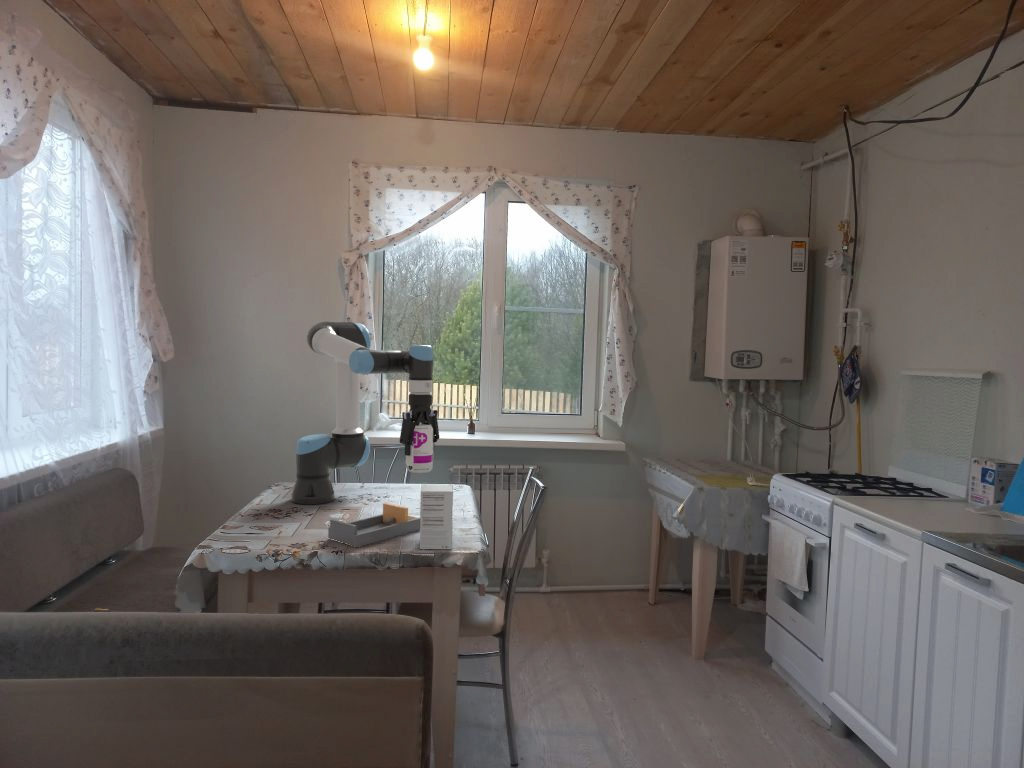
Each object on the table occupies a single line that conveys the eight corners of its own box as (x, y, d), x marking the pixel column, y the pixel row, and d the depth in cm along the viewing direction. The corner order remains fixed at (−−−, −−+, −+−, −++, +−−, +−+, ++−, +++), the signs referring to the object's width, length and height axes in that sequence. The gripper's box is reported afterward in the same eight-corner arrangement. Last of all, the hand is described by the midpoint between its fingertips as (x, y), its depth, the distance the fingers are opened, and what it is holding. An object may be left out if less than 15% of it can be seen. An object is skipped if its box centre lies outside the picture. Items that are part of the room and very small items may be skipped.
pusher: (375, 524, 212) (375, 505, 212) (385, 521, 215) (385, 502, 215) (397, 530, 206) (398, 510, 206) (407, 527, 209) (408, 508, 209)
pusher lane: (328, 539, 199) (328, 519, 199) (394, 521, 220) (394, 503, 220) (356, 547, 192) (356, 526, 191) (421, 528, 212) (422, 510, 212)
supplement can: (427, 473, 214) (428, 426, 213) (402, 472, 216) (403, 425, 215) (435, 469, 222) (436, 423, 221) (411, 467, 224) (412, 422, 223)
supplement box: (420, 540, 201) (421, 483, 200) (452, 540, 202) (453, 483, 200) (419, 550, 191) (420, 490, 190) (452, 550, 192) (453, 490, 191)
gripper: (404, 395, 207) (403, 469, 208) (451, 392, 224) (450, 461, 225) (387, 394, 211) (387, 466, 213) (435, 391, 228) (434, 458, 230)
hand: (419, 463), depth 219 cm, fingers closed on supplement can, 8 cm apart
